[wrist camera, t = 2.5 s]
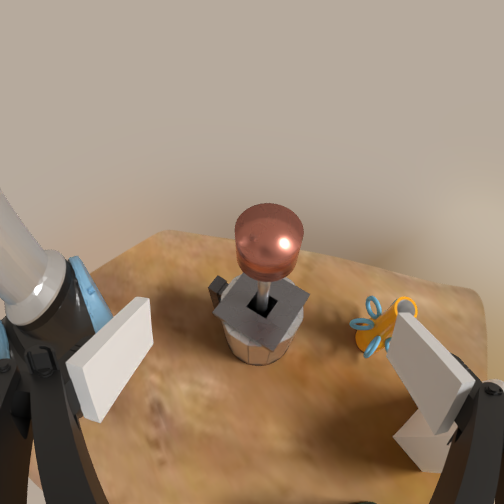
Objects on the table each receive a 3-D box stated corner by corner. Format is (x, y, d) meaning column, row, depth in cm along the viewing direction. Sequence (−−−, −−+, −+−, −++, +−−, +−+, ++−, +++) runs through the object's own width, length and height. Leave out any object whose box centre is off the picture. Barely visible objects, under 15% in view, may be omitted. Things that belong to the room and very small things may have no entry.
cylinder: (332, 320, 51) (359, 285, 39) (377, 301, 53) (411, 263, 40) (358, 379, 45) (396, 362, 32) (403, 355, 47) (446, 331, 34)
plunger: (234, 323, 42) (220, 236, 23) (255, 294, 44) (259, 194, 26) (266, 343, 40) (281, 271, 22) (286, 313, 43) (315, 222, 24)
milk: (432, 391, 42) (530, 356, 20) (459, 426, 37) (557, 406, 15) (392, 436, 39) (492, 433, 17) (422, 471, 34) (521, 480, 12)
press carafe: (202, 334, 50) (184, 302, 37) (237, 287, 55) (234, 243, 42) (268, 377, 46) (275, 362, 33) (301, 326, 51) (319, 292, 38)
